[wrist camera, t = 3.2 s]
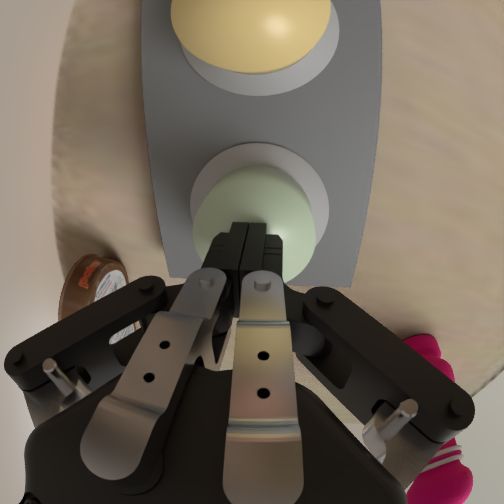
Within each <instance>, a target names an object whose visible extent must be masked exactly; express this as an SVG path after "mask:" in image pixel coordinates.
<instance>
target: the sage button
mask: <svg viewBox="0 0 504 504" xmlns="http://www.w3.org/2000/svg"><path fill="white" fill-rule="evenodd" d="M232 222H249V223H250V222H253V223H267V234H277V235H279V236H280V238H281V239H282V240H283V272H282V278H283V281H284V283H286V282H288V281H290V280H291V279H293V278H294V277H296V276H297V275H298V274H300V273H301V271H302V270H303V269H304V268H305V267H306V266H307V264H308V263H309V261H310V259H311V257H312V255H313V252H314V249H315V244H316V232H315V226H314V221H313V216H312V211H311V206H310V202H309V199H308V197H307V195H306V193H305V191H304V190H303V188H302V187H301V186H300V185H299V183H298V182H297V181H295V180H294V179H293V178H292V177H291V176H289V175H288V174H286V173H284V172H282V171H280V170H278V169H275V168H272V167H268V166H260V165H252V166H245V167H241V168H238V169H235V170H233V171H231V172H229V173H227V174H226V175H224V176H223V177H222V178H220V179H219V180H218V181H217V182H216V184H215V185H214V186H213V188H212V189H211V191H210V192H209V194H208V195H207V197H206V198H205V200H204V201H203V203H202V204H201V206H200V207H199V209H198V211H197V213H196V216H195V219H194V223H193V231H192V232H193V241H194V245H195V248H196V251H197V253H198V255H199V257H200V259H201V260H202V262H204V259H205V257H206V254H207V252H208V250H209V247H210V246H211V243H212V240H213V238H214V237H215V236H217V235H218V234H219V233H220V232H227V233H229V231H230V228H231V225H232Z"/></svg>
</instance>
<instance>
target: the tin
mask: <svg viewBox="0 0 504 504" xmlns="http://www.w3.org/2000/svg"><path fill="white" fill-rule="evenodd" d="M127 284H129V282H128V276H127V273H126V270H125V268H124V267H123V265H122V264H121V263H119V262H117V261H115V260H112V259H107V258H102V257H98V256H97V255H95V254H88V255H85V256H83V257H82V258H80V259H79V260H78V261H77V262H76V263H75V265H74V266H73V267H72V269H71V270H70V272H69V274H68V276H67V278H66V280H65V283H64V286H63V289H62V292H61V297H60V301H59V312H58V316H59V317H58V320H59V321H60V320H62V319H64V318H66V317H67V316H69V315H71V314H73V313H75V312H77V311H78V310H80V309H82V308H84V307H86V306H88V305H89V304H91V303H93V302H95V301H97V300H99V299H101V298H102V297H104V296H106V295H108V294H110V293H112V292H114V291H116V290H117V289H119V288H121V287H123V286H125V285H127ZM134 331H136V327H135V323H133V324H132V325H130V326H128V327H126V328H125V329H123V330H121V331H120V332H118V333H116V334H114V335H113V336H112V337H111V339H110V341H109V344H113V343H116V342H117V341H119V340H121V339H122V338H124V337H126V336H128V335H129V334H131V333H133V332H134Z"/></svg>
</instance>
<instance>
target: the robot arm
mask: <svg viewBox="0 0 504 504" xmlns="http://www.w3.org/2000/svg"><path fill="white" fill-rule="evenodd" d="M282 272H283V240H282V239H281V238H280V236H279V235H277V234H267V223H253V222H250V223H249V222H232V225H231V228H230V231H229V233H227V232H220V233H219V234H218V235H217V236H215V237H214V238H213V240H212V243H211V246H210V247H209V250H208V252H207V254H206V257H205V259H204V262H203V264H202V266H201V269H198V270H196V271H194V272H192V273H191V274H190V275H189V277H188V278H187V280H186V282H185V283H184V284H180V285H173V286H165V282H164V280H163V279H162V278H160V277H157V276H144V277H141V278H139V279H137V280H135V281H133V282H131V283H129V284H127V285H125V286H123V287H121V288H119V289H117V290H116V291H114V292H112V293H110V294H108V295H106V296H104V297H102V298H101V299H99V300H97V301H95V302H93V303H91V304H89V305H88V306H86V307H84V308H82V309H80V310H78V311H77V312H75V313H73V314H71V315H69V316H67V317H66V318H64V319H62V320H60V321H58V322H57V323H55V324H53V325H51V326H50V327H48V328H46V329H44V330H42V331H41V332H39V333H37V334H35V335H34V336H32V337H30V338H28V339H27V340H25V341H23V342H22V343H20V344H18V345H16V346H15V347H13V348H12V349H11V350H10V351H9V352H8V354H7V355H6V358H5V362H4V368H5V371H6V372H7V374H8V375H9V376H10V377H11V378H12V379H13V380H14V381H15V382H16V383H17V385H18V386H19V388H20V389H21V390H22V391H23V393H24V396H25V400H26V403H27V406H28V409H29V413H30V415H31V418H32V421H33V424H34V427H35V429H34V430H33V431H32V433H31V434H30V436H29V438H28V440H27V442H26V446H25V452H24V458H25V471H26V485H25V493H24V497H23V499H22V500H21V502H20V503H19V504H407V497H406V493H405V491H404V490H405V489H406V488H407V487H408V486H409V485H410V484H411V483H412V482H413V481H414V479H415V478H416V477H417V476H418V475H419V474H420V473H421V471H422V470H423V469H424V468H425V467H426V465H427V464H428V463H429V462H430V461H431V459H432V458H433V457H434V455H435V454H436V453H437V452H438V450H439V449H440V448H441V446H442V445H444V444H445V443H447V442H448V441H449V440H451V439H452V438H454V437H455V436H456V435H458V434H459V433H460V432H462V431H463V430H464V429H465V428H467V427H468V426H469V425H470V424H471V422H472V421H473V418H474V414H475V406H474V403H473V400H472V398H471V397H470V395H469V394H468V393H467V392H466V391H464V390H463V389H462V388H461V387H460V386H458V385H457V384H456V383H455V382H453V381H452V380H451V379H450V378H448V377H447V376H446V375H445V374H444V373H442V372H441V371H440V370H439V369H437V368H436V367H435V366H434V365H432V364H431V363H430V362H429V361H427V360H426V359H425V358H424V357H422V356H421V355H420V354H419V353H417V352H416V351H415V350H414V349H412V348H411V347H410V346H409V345H407V344H406V343H405V342H404V341H402V340H401V339H400V338H398V337H397V336H396V335H395V334H393V333H392V332H391V331H390V330H388V329H387V328H386V327H384V326H383V325H382V324H381V323H379V322H378V321H377V320H375V319H374V318H373V317H372V316H370V315H369V314H368V313H366V312H365V311H364V310H362V309H361V308H360V307H359V306H357V305H356V304H355V303H353V302H352V301H351V300H349V299H348V298H347V297H345V296H344V295H343V294H342V293H340V292H339V291H337V290H335V289H333V288H330V287H324V286H320V287H315V288H312V289H310V290H308V291H307V292H306V294H304V293H300V292H297V291H294V290H292V289H290V288H289V287H288V286H287V285H286V284H285V283H284V281H283V278H282ZM233 317H235V318H239V321H237V326H236V338H235V350H234V362H233V369H232V370H223V371H219V370H220V367H221V363H222V360H223V357H224V354H225V350H226V347H227V344H228V341H229V337H230V334H231V324H232V319H233ZM137 321H139V323H140V326H141V328H139V329H138V330H136V331H134V332H133V333H131V334H129V335H128V336H126V337H124V338H122V339H121V340H119V341H117V342H116V343H113V344H109V341H110V339H111V337H112V336H113V335H114V334H116V333H118V332H120V331H121V330H123V329H125V328H126V327H128V326H130V325H132V324H133V323H135V322H137ZM292 351H293V352H296V356H297V358H298V360H299V361H300V362H301V363H302V364H303V365H304V366H305V367H306V368H307V369H308V370H309V371H310V372H311V373H312V374H313V375H314V376H315V377H316V378H317V379H318V380H319V381H320V382H321V383H322V384H323V385H324V386H325V387H326V388H327V389H328V390H329V391H330V392H331V393H332V394H333V395H334V396H335V397H336V398H337V399H338V400H339V401H340V402H341V403H342V404H343V405H344V406H345V407H346V408H347V409H348V410H349V411H350V412H351V413H352V414H353V415H354V416H355V417H356V418H357V419H358V420H359V421H360V422H361V423H363V424H364V425H365V426H364V428H363V434H362V436H363V441H364V443H365V445H366V446H367V447H368V449H369V450H370V452H371V453H370V452H369V451H368V450H367V449H366V448H365V447H364V446H363V445H362V443H360V441H359V440H358V439H357V438H356V437H355V436H354V435H353V434H352V433H351V432H350V431H349V430H348V429H347V428H346V426H345V425H344V424H343V423H342V422H341V421H340V420H339V419H338V418H337V417H336V416H335V415H334V413H333V412H332V411H331V410H330V409H329V408H328V407H327V406H326V405H325V404H324V402H323V401H322V400H321V399H320V398H319V397H318V396H317V395H316V394H315V393H313V392H312V391H311V390H309V389H308V388H306V387H305V386H303V385H301V384H299V383H296V382H295V376H294V364H293V353H292Z"/></svg>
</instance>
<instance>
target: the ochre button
mask: <svg viewBox="0 0 504 504" xmlns="http://www.w3.org/2000/svg"><path fill="white" fill-rule="evenodd" d="M330 13H331V3H330V0H172V3H171V21H172V25H173V28H174V31H175V33H176V35H177V37H178V39H179V40H180V42H181V43H182V44H183V45H184V47H185V48H186V49H187V50H189V51H190V52H191V53H192V54H193V55H195V56H196V57H198V58H199V59H201V60H203V61H205V62H207V63H209V64H211V65H214V66H217V67H220V68H223V69H226V70H229V71H232V72H236V73H240V74H247V75H262V74H269V73H274V72H278V71H281V70H284V69H286V68H289V67H291V66H292V65H294V64H296V63H298V62H299V61H300V60H302V59H303V58H304V57H305V56H306V55H307V54H308V53H309V52H310V51H311V50H312V49H313V47H314V46H315V45H316V43H317V42H318V41H319V39H320V38H321V36H322V35H323V33H324V32H325V30H326V27H327V25H328V22H329V18H330Z"/></svg>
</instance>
